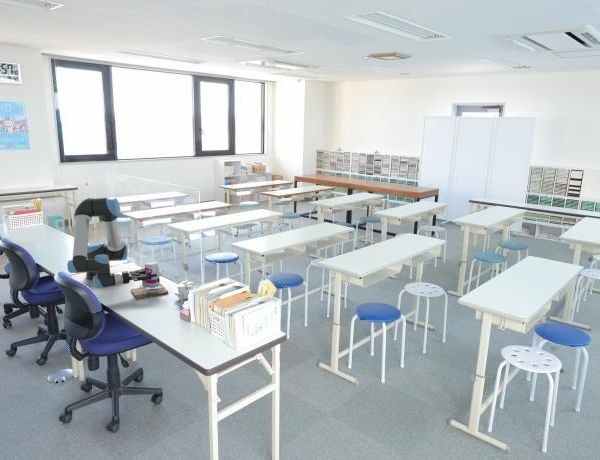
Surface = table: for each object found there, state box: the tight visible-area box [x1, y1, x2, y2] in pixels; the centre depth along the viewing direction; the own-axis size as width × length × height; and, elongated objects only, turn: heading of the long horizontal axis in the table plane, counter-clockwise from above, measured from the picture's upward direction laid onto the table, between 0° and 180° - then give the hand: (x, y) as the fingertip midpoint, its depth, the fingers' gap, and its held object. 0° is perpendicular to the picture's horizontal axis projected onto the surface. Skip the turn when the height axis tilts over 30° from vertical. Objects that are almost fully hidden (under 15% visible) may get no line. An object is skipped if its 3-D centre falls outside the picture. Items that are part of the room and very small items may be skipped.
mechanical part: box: [174, 279, 196, 302], centre depth 268 cm, size 11×12×12 cm
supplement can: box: [144, 260, 161, 288], centre depth 278 cm, size 8×8×15 cm
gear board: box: [130, 283, 169, 301], centre depth 280 cm, size 16×19×2 cm
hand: (159, 271), depth 280 cm, fingers closed on supplement can, 8 cm apart
